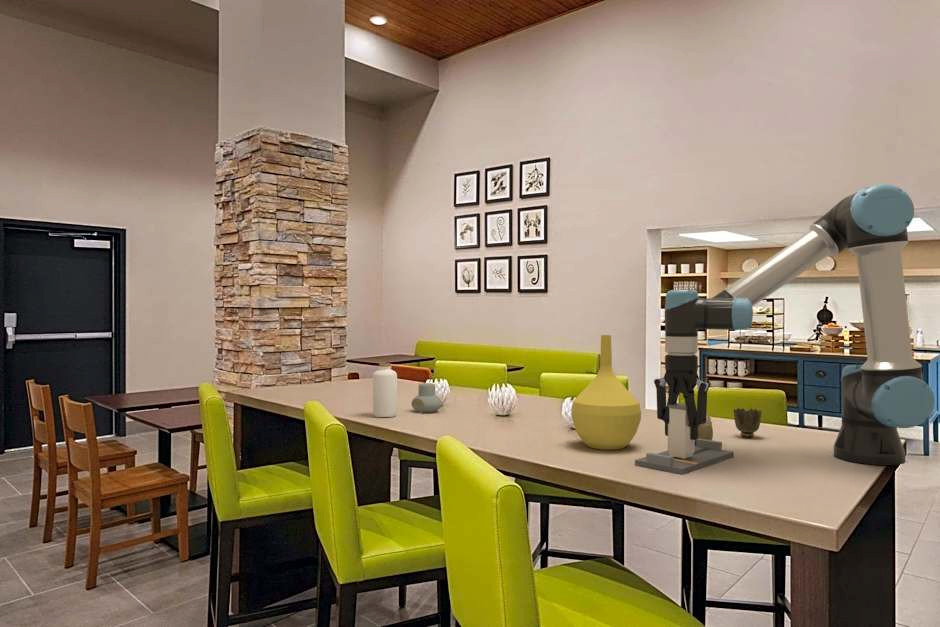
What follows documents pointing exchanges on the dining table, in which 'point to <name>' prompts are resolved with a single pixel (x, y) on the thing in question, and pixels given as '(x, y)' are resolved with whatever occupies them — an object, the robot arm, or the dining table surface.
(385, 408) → the white bottle
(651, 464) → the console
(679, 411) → the fader tab
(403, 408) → the dining table surface
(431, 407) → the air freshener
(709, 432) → the coral
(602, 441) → the vase
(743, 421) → the cup
